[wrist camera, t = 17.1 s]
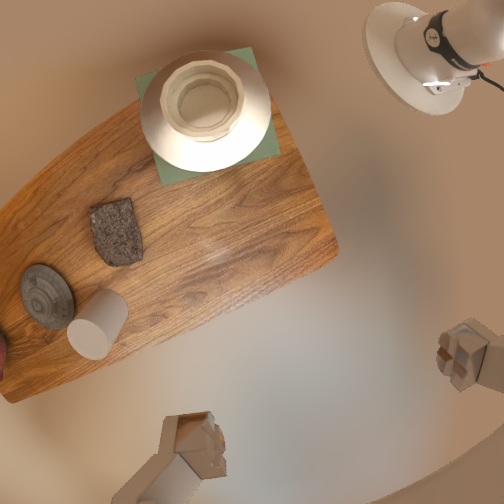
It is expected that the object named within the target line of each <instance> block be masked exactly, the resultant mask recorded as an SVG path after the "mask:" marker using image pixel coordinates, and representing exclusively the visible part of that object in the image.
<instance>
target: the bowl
mask: <svg viewBox="0 0 504 504" xmlns="http://www.w3.org/2000/svg"><path fill="white" fill-rule="evenodd" d="M6 356H7V345H6V341H5V339H4V337H3V335H2V333H1V331H0V382H1V381H2V378H3V365H4V363H5V360H6Z"/></svg>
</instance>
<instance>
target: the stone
mask: <svg viewBox="0 0 504 504" xmlns="http://www.w3.org/2000/svg"><path fill="white" fill-rule="evenodd" d="M133 213H134V212H133V207H132V203H131V199H130V198H126V199H123V200H118V201H114V202H110V203H107V204H101V205H93V206H91V207H90V208H89V210H88V217H89V221H90V225H91V231H92V233H93V238H94V245H95V250H96V251H97V252H98V253H99V255H100V256H101V258H102V259H103V260H104V262H105V263H106V264H108V265H109V266H112V267H114V266H116V267H118V266H126V265H130V264H133V263H135V262H137V261H141V260H142V256H143V255H142V240H141V233H140V231H139V230H138V226H137V223H136V222H135V219H134V214H133Z"/></svg>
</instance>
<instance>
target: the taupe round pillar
mask: <svg viewBox="0 0 504 504" xmlns="http://www.w3.org/2000/svg"><path fill="white" fill-rule="evenodd" d="M127 317H128V307H127V304H126V302H125V300H124V299H123V298H122V297H121V296H120V295H119V294H118V293H116V292H114V291H111V290H101V291H98V292H97V293H96V294H95V295H94V296H93V297H92V298H91V300H90V301H89V302H88V303H87V304H86V305H85V306H84V308H83V309H82V310H81V311H80V312H79V314H78V315H77V316H76V317H75V318H74V319H73V321H72V322H71V323H70V324H69V326H68V329H67V336H68V339H69V342H70V344H71V345H72V347H73V348H74V349H75V350H76V351H77V352H78V353H79V354H80V355H82V356H84V357H86V358H88V359H92V360H100V359H102V358H104V357H105V356H106V355H107V354H108V352H109V350H110V348H111V346H112V345H113V343H114V341H115V339H116V337H117V335H118V333H119V332H120V330H121V328H122V326H123V324H124V323H125V321H126V319H127Z"/></svg>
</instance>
